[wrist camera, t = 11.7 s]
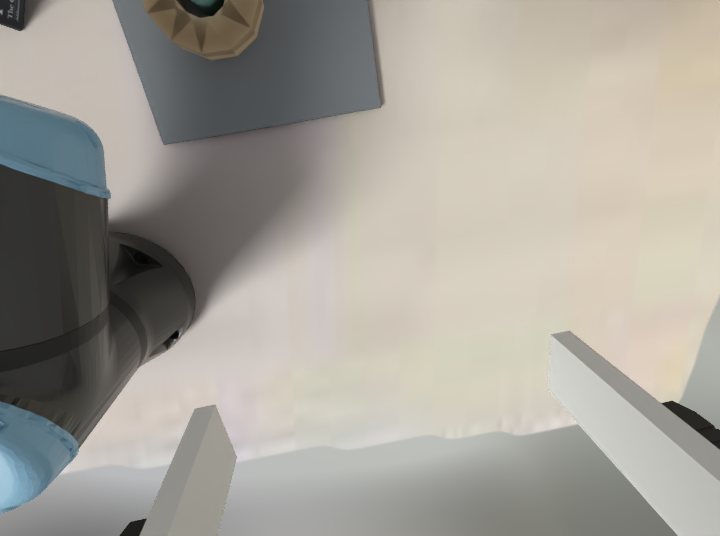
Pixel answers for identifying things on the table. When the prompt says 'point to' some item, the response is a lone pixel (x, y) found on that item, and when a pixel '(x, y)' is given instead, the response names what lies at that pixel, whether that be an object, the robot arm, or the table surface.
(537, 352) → the table surface
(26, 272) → the robot arm
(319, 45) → the mat
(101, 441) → the table surface
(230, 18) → the bead
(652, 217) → the table surface
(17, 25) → the small box
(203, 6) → the teal and tan cylinder
